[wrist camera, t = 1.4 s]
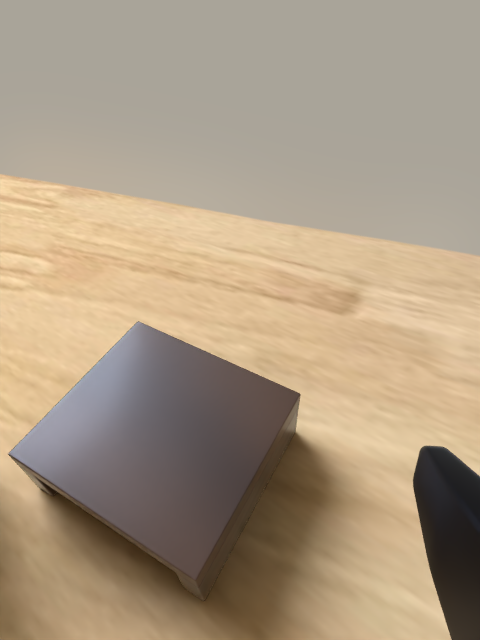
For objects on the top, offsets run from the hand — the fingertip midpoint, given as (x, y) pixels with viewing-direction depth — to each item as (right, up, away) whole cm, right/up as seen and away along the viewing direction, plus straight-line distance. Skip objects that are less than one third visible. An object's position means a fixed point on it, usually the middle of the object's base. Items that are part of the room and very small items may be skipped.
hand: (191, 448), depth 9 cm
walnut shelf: (-3, -5, +16) cm, 17 cm away
